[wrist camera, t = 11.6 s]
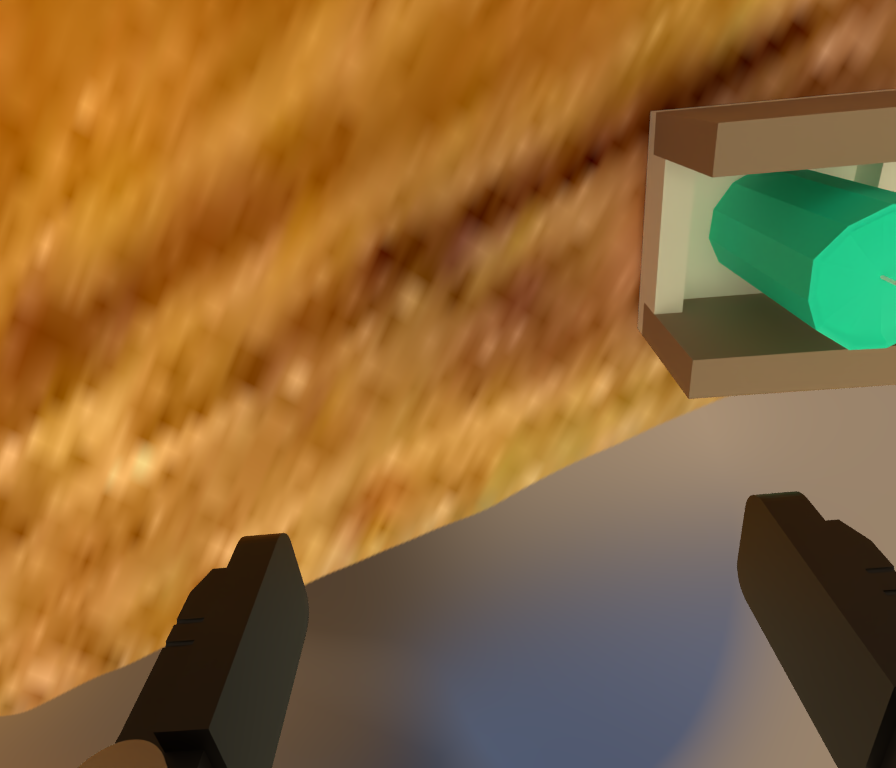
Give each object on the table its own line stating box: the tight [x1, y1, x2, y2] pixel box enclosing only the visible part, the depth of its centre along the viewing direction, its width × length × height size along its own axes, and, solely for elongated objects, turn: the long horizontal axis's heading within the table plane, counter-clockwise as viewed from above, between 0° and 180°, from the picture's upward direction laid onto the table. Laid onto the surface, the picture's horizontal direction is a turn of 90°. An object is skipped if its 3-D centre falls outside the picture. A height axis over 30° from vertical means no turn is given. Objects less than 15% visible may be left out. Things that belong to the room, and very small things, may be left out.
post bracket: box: [637, 89, 896, 399], centre depth 29 cm, size 12×12×9 cm
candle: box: [709, 169, 896, 350], centre depth 27 cm, size 6×6×12 cm
